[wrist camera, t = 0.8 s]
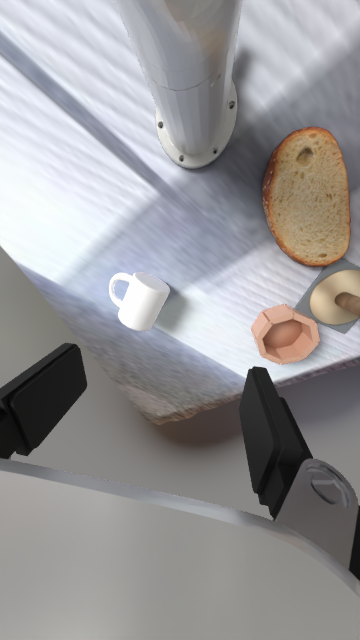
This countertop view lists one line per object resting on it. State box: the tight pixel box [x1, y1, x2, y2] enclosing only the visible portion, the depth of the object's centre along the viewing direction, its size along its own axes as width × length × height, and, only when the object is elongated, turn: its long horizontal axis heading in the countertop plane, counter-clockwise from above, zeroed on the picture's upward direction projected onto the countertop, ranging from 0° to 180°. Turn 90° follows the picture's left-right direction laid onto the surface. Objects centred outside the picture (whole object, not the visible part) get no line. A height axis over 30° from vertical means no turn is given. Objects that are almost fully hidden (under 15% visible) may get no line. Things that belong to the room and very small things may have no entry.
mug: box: [109, 272, 170, 331], centre depth 39 cm, size 12×10×8 cm
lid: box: [309, 269, 360, 325], centre depth 33 cm, size 11×11×6 cm
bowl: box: [251, 304, 320, 365], centre depth 39 cm, size 11×11×5 cm
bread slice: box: [263, 127, 351, 267], centre depth 30 cm, size 18×18×4 cm
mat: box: [295, 259, 360, 334], centre depth 36 cm, size 12×12×1 cm
